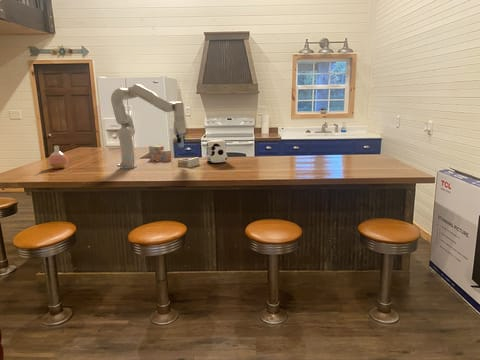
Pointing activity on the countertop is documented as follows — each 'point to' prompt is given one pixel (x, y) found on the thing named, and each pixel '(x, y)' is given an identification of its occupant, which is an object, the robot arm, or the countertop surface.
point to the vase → (57, 159)
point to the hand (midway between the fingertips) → (181, 142)
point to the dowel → (181, 140)
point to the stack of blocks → (159, 153)
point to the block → (183, 162)
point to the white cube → (216, 151)
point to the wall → (193, 162)
